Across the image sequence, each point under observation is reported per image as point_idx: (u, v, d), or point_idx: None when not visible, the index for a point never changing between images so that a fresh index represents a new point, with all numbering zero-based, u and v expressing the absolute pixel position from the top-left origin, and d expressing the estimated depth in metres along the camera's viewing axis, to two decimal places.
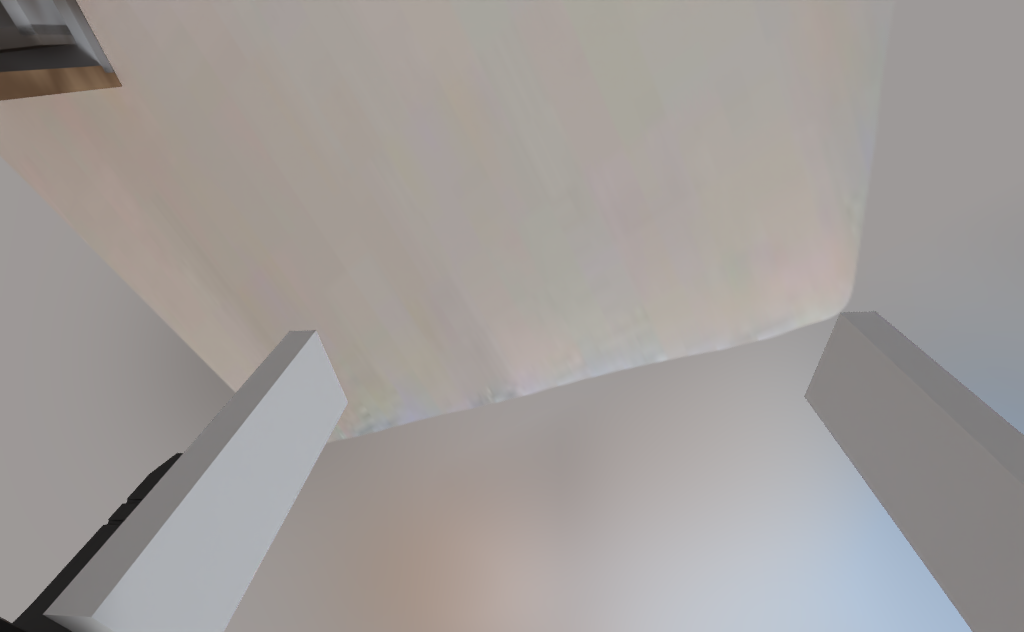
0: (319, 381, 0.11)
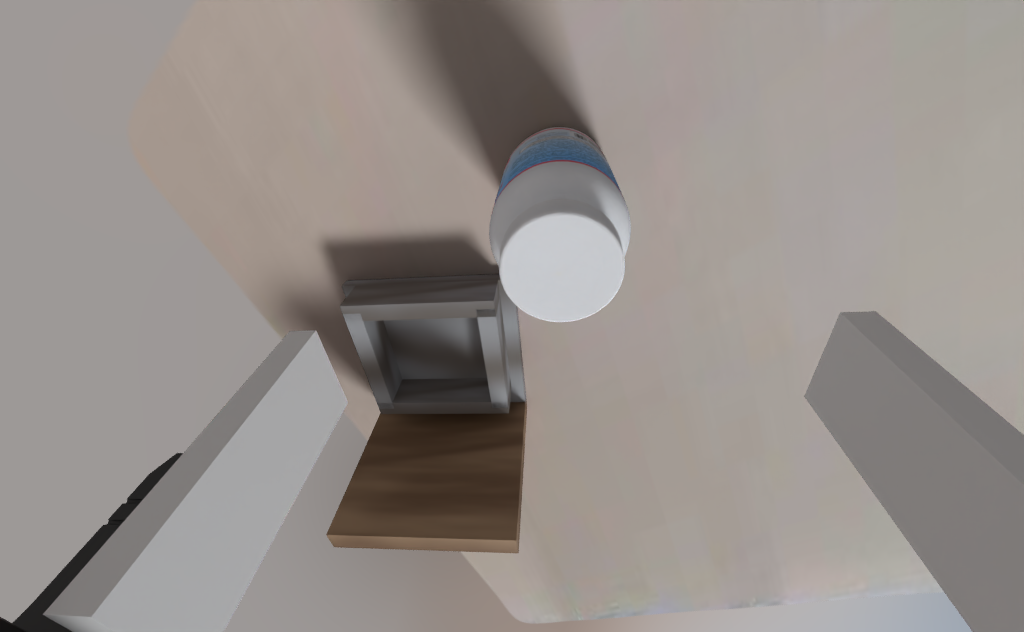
0: (319, 381, 0.11)
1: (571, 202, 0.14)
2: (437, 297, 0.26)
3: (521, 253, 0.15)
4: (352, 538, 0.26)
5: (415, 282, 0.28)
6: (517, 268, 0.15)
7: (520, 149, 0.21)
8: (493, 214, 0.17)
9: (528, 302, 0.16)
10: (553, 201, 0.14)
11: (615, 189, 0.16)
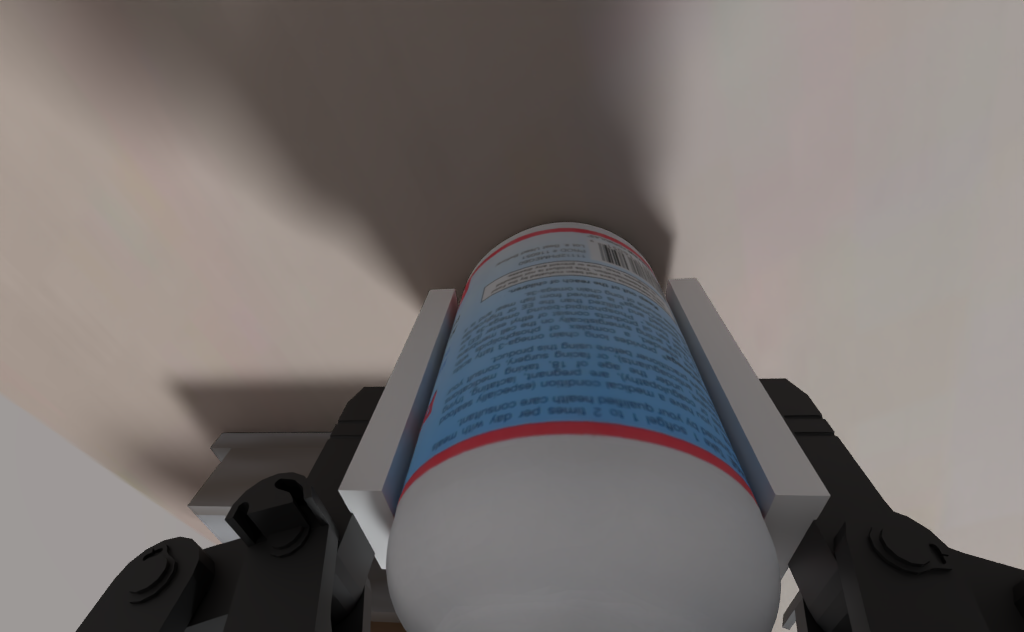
0: None
1: None
2: None
3: None
4: None
5: None
6: None
7: (486, 281, 0.10)
8: (389, 549, 0.06)
9: None
10: None
11: (752, 525, 0.05)
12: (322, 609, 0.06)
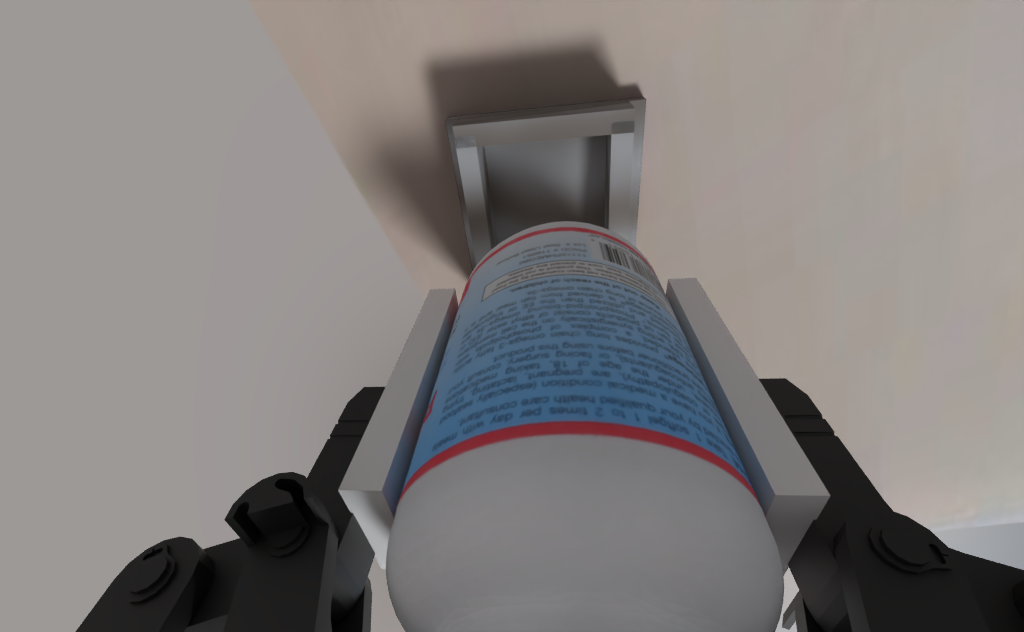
0: None
1: None
2: (564, 113, 0.23)
3: None
4: None
5: (530, 110, 0.25)
6: None
7: (486, 280, 0.10)
8: (389, 549, 0.06)
9: None
10: None
11: (755, 525, 0.05)
12: (322, 609, 0.06)
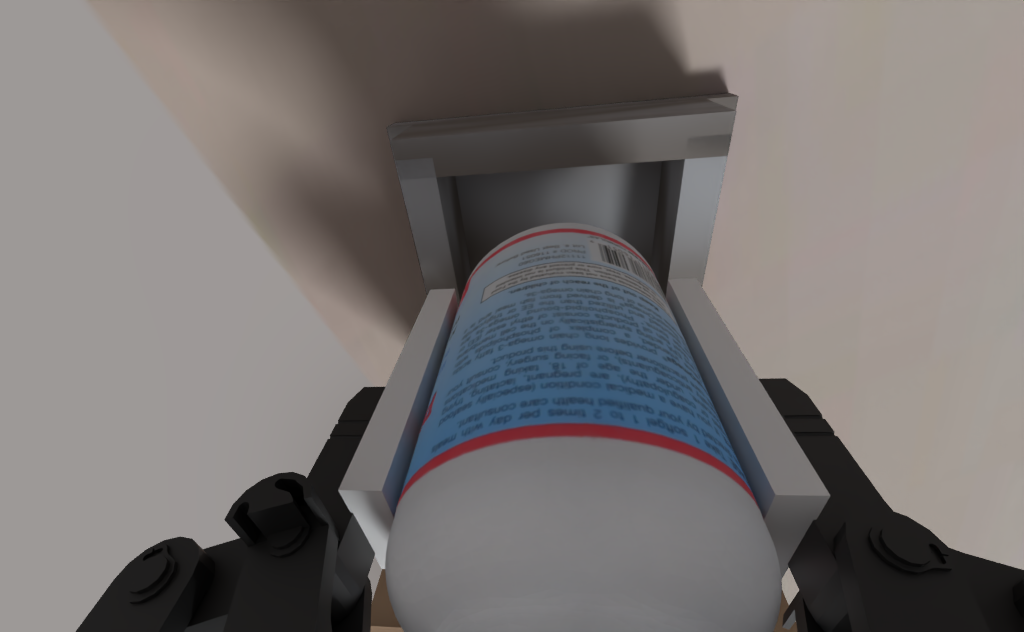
0: None
1: None
2: (598, 119, 0.12)
3: None
4: None
5: (533, 113, 0.14)
6: None
7: (486, 281, 0.10)
8: (388, 551, 0.06)
9: None
10: None
11: (753, 527, 0.05)
12: (322, 609, 0.06)
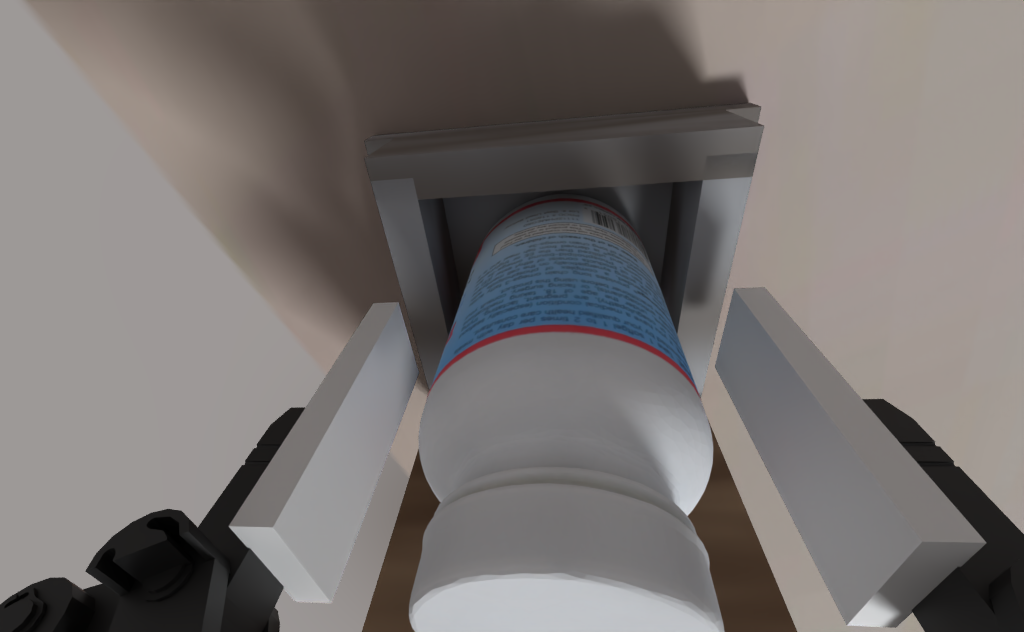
0: (401, 349, 0.12)
1: (588, 501, 0.05)
2: (602, 134, 0.11)
3: (459, 615, 0.06)
4: None
5: (528, 125, 0.13)
6: (452, 630, 0.06)
7: (496, 240, 0.12)
8: (422, 424, 0.08)
9: None
10: (541, 492, 0.06)
11: (687, 398, 0.07)
12: None
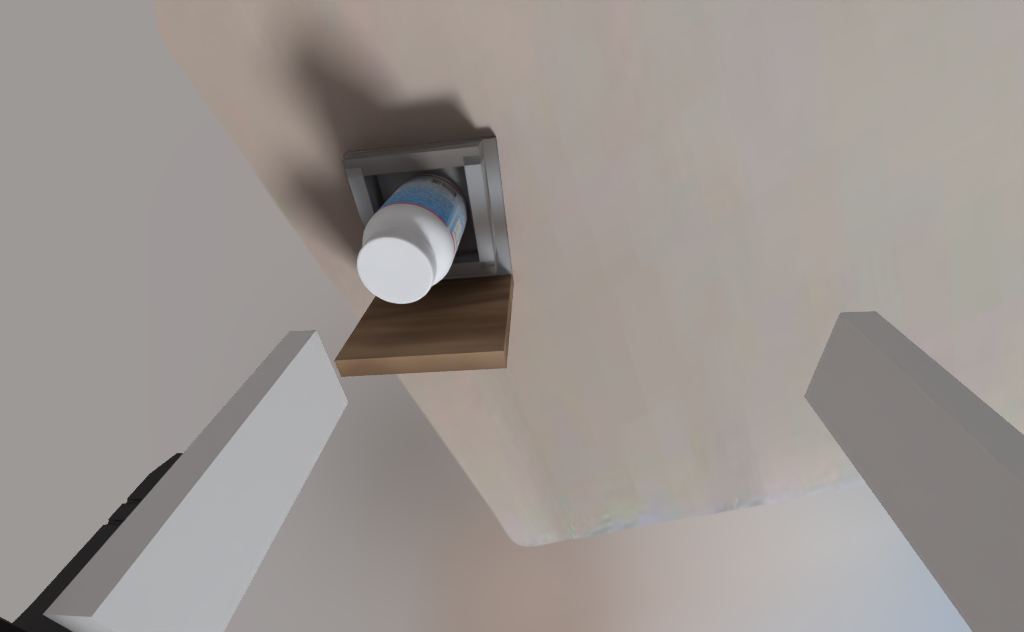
0: (319, 381, 0.11)
1: (396, 230, 0.24)
2: (428, 150, 0.30)
3: (368, 261, 0.24)
4: (357, 362, 0.29)
5: (408, 147, 0.32)
6: (368, 270, 0.25)
7: None
8: None
9: (380, 291, 0.25)
10: (386, 230, 0.24)
11: (434, 220, 0.26)
12: None
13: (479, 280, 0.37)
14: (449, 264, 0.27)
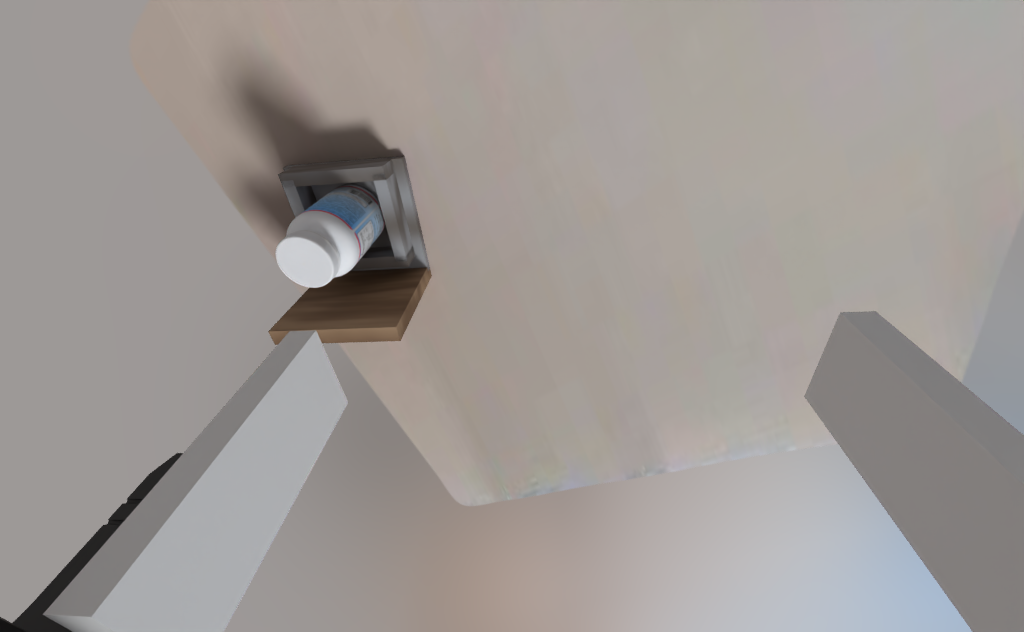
0: (319, 381, 0.11)
1: (304, 231, 0.32)
2: (345, 167, 0.37)
3: (284, 254, 0.32)
4: (286, 333, 0.37)
5: (334, 163, 0.39)
6: (284, 261, 0.33)
7: None
8: (286, 235, 0.35)
9: (295, 277, 0.33)
10: (297, 231, 0.32)
11: (339, 224, 0.34)
12: None
13: (400, 271, 0.45)
14: (354, 258, 0.35)
